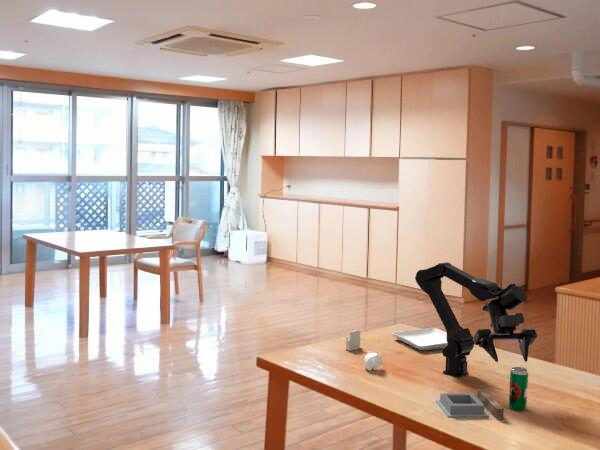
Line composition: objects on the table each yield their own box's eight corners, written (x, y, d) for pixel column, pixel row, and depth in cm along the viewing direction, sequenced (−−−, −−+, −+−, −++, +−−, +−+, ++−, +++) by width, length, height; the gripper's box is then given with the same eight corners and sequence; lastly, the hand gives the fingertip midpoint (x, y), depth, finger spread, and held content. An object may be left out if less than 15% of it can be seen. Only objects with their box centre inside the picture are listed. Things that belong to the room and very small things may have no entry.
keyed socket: (435, 401, 201) (436, 392, 200) (474, 401, 202) (474, 391, 201) (447, 417, 189) (448, 407, 188) (488, 416, 190) (489, 406, 189)
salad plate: (419, 354, 250) (420, 345, 250) (390, 339, 270) (390, 331, 269) (465, 348, 259) (466, 340, 258) (434, 335, 278) (434, 327, 278)
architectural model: (343, 349, 255) (343, 330, 254) (355, 346, 259) (356, 328, 259) (349, 351, 252) (350, 332, 252) (361, 348, 257) (362, 329, 256)
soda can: (527, 412, 194) (529, 372, 192) (509, 410, 195) (511, 370, 193) (525, 405, 199) (527, 367, 197) (507, 404, 200) (509, 365, 198)
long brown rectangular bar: (476, 398, 204) (477, 389, 203) (483, 398, 204) (483, 389, 204) (496, 419, 188) (496, 408, 188) (503, 419, 188) (503, 408, 188)
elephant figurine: (387, 371, 229) (387, 354, 228) (366, 373, 226) (366, 356, 225) (378, 365, 235) (378, 349, 234) (357, 367, 232) (358, 350, 232)
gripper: (478, 303, 204) (489, 348, 194) (536, 303, 206) (551, 348, 196) (468, 322, 213) (479, 366, 203) (524, 322, 214) (537, 365, 204)
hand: (511, 361), depth 201 cm, fingers open, 9 cm apart
